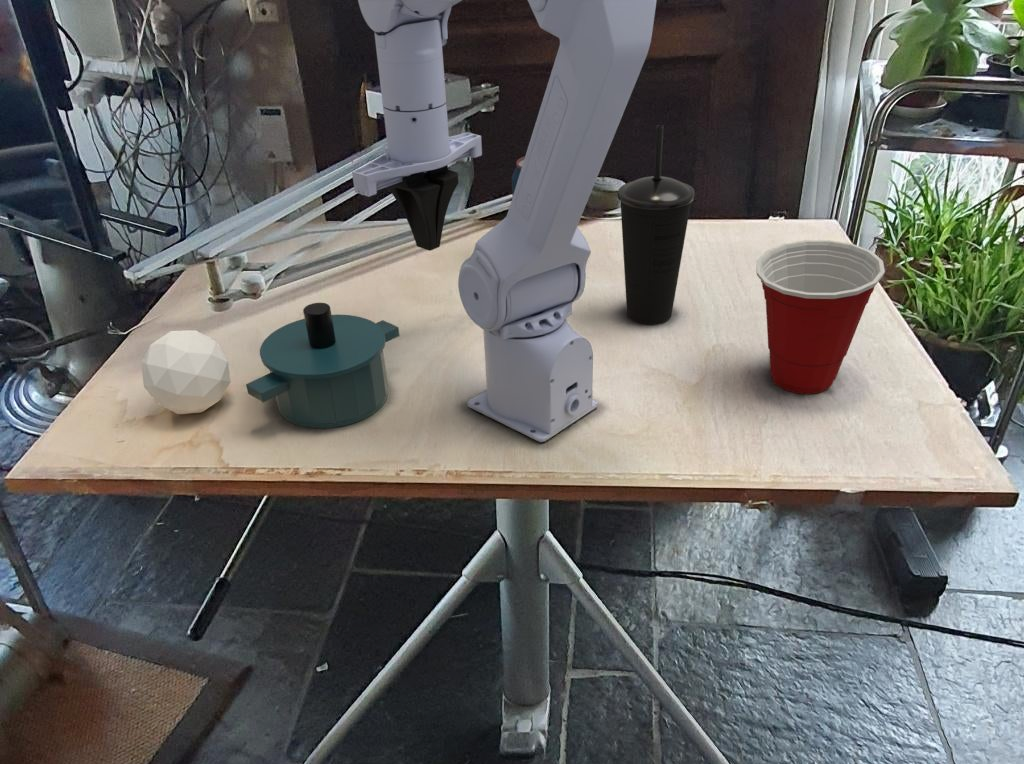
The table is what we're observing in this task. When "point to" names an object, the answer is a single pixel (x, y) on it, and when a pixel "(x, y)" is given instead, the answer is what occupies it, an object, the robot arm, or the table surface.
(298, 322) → the lid
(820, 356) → the plastic cup
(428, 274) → the table surface
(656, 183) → the drinking cup
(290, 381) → the pot
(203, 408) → the ball
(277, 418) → the table surface
